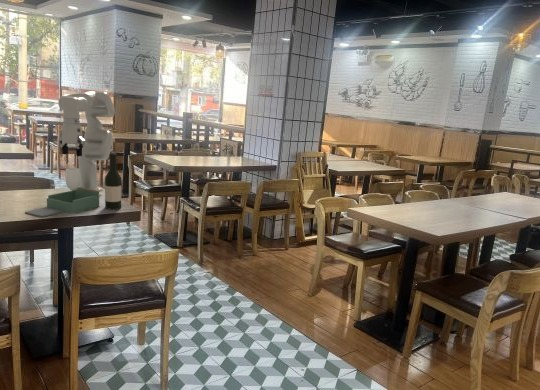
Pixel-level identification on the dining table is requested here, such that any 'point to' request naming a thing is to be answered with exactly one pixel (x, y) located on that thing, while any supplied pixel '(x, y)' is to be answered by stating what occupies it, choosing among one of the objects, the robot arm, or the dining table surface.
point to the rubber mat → (43, 212)
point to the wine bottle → (112, 186)
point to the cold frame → (74, 200)
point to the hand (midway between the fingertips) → (72, 155)
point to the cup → (72, 178)
